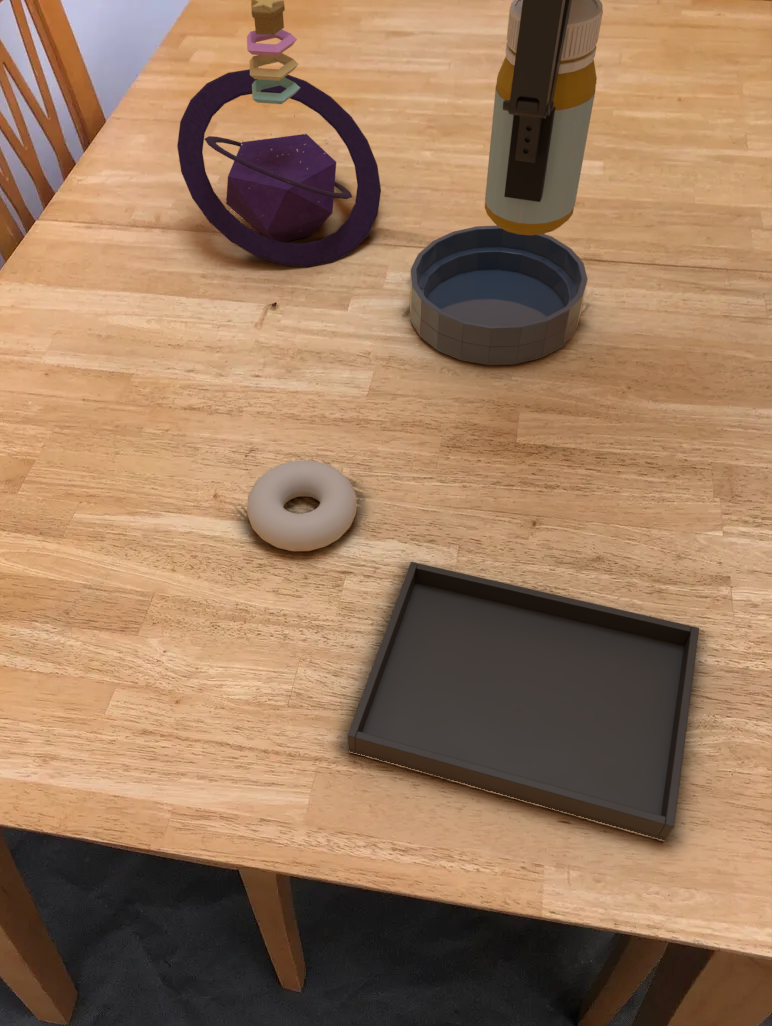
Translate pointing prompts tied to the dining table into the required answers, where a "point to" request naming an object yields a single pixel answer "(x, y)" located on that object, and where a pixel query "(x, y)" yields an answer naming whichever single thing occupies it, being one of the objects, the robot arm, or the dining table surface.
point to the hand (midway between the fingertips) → (534, 170)
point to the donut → (305, 527)
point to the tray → (532, 698)
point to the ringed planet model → (278, 160)
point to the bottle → (567, 128)
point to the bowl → (496, 295)
